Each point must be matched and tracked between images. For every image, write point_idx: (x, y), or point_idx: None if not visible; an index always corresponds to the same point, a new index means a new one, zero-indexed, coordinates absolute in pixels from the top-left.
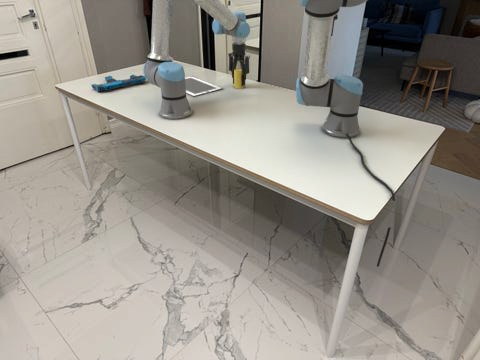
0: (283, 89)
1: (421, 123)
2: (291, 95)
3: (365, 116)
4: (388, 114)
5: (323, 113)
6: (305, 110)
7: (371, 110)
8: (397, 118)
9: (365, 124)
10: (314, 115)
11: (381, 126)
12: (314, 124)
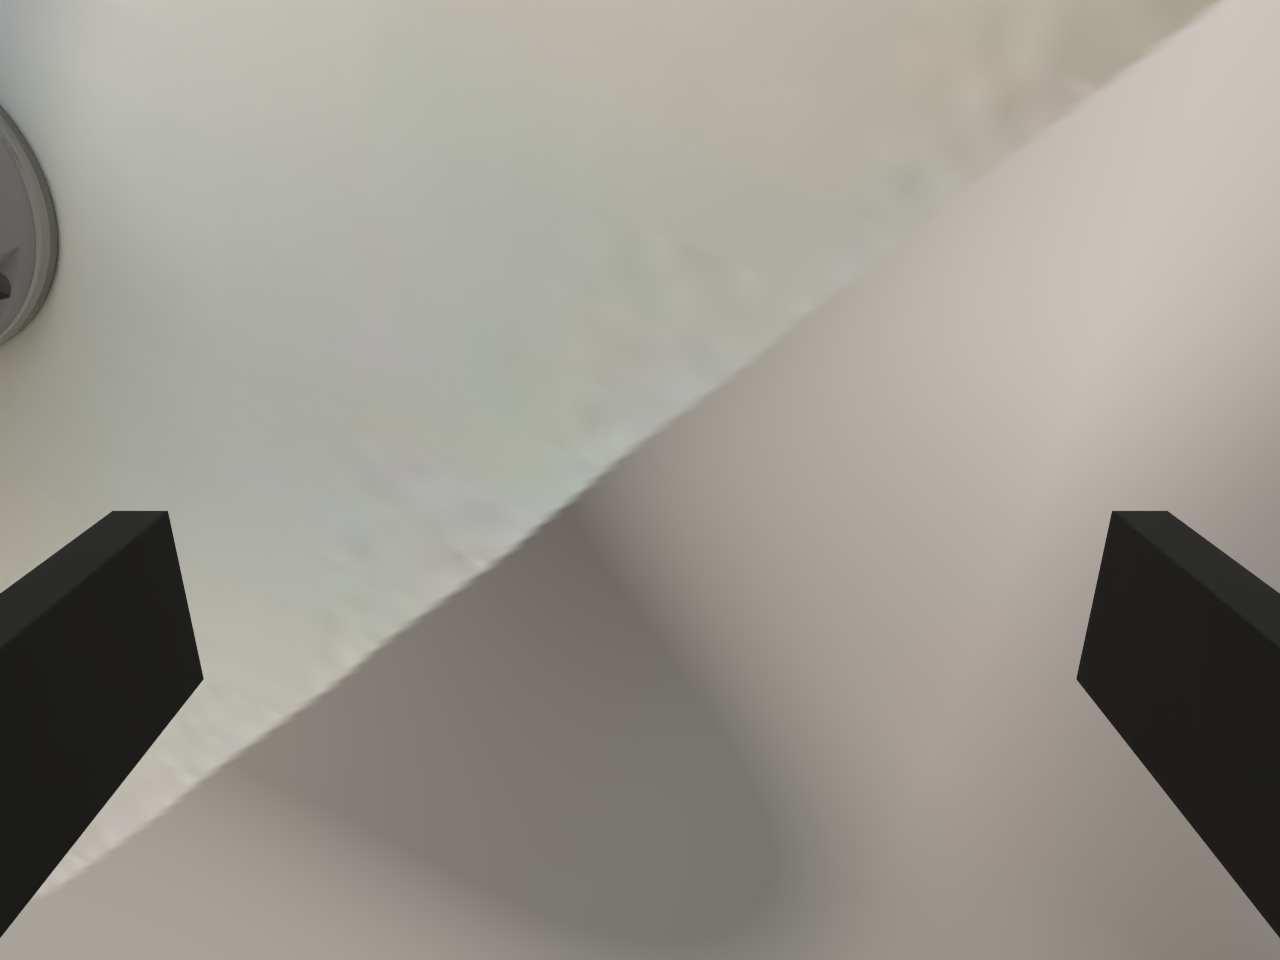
0: (1159, 41)
1: (80, 847)
2: (917, 69)
3: (224, 556)
4: (258, 735)
5: (320, 220)
6: (422, 57)
7: (353, 661)
8: (174, 754)
9: (50, 477)
10: (274, 102)
11: (13, 575)
12: (36, 3)
